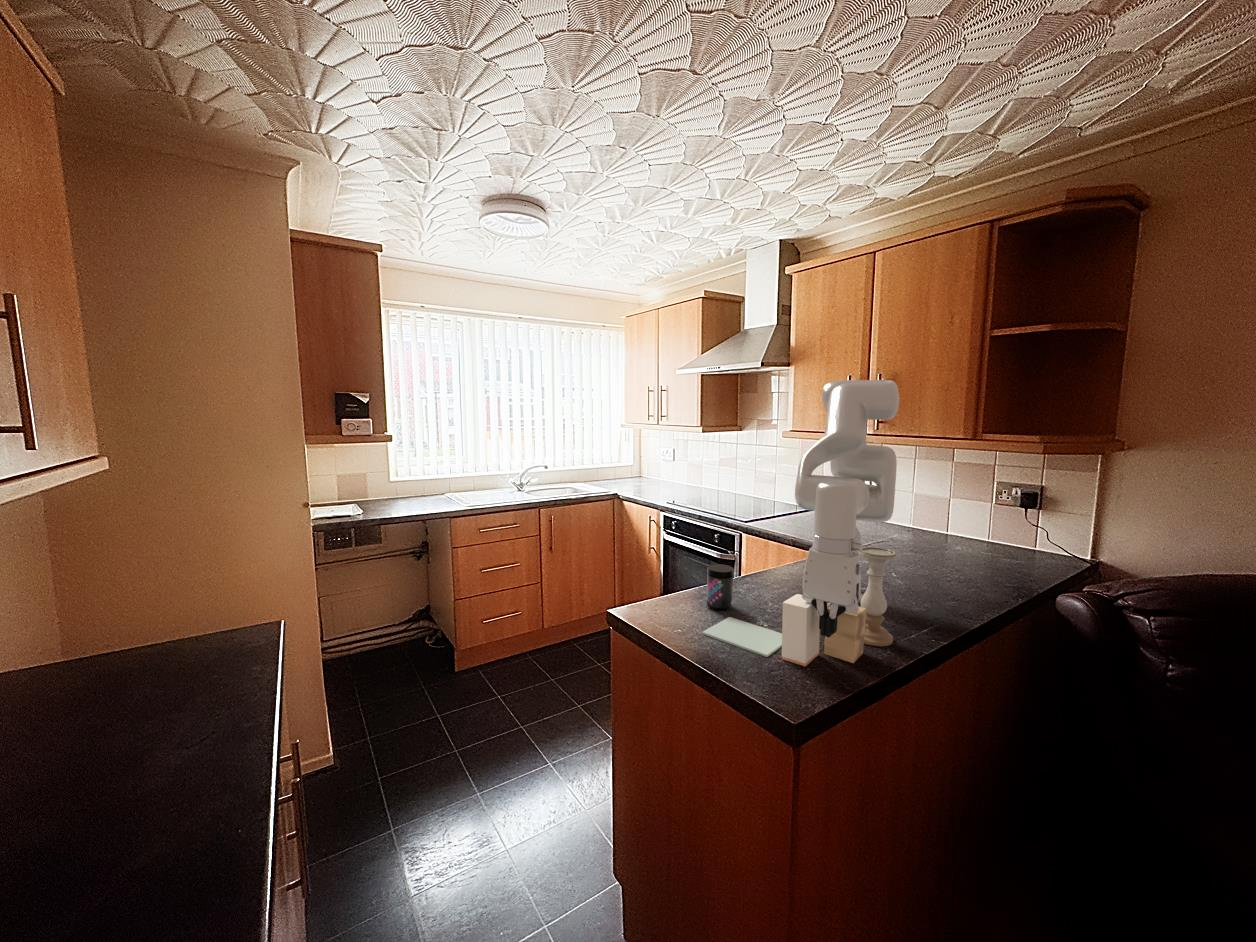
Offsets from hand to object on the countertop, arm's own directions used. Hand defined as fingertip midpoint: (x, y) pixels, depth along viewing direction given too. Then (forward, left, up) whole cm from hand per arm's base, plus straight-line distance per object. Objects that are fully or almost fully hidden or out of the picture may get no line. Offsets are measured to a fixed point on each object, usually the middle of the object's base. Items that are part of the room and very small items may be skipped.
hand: (827, 634), depth 101 cm
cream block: (0, -5, -7) cm, 8 cm away
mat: (-1, -18, -7) cm, 19 cm away
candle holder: (-20, +3, -7) cm, 21 cm away
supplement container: (-12, -32, -7) cm, 35 cm away
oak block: (-8, +1, -7) cm, 10 cm away
